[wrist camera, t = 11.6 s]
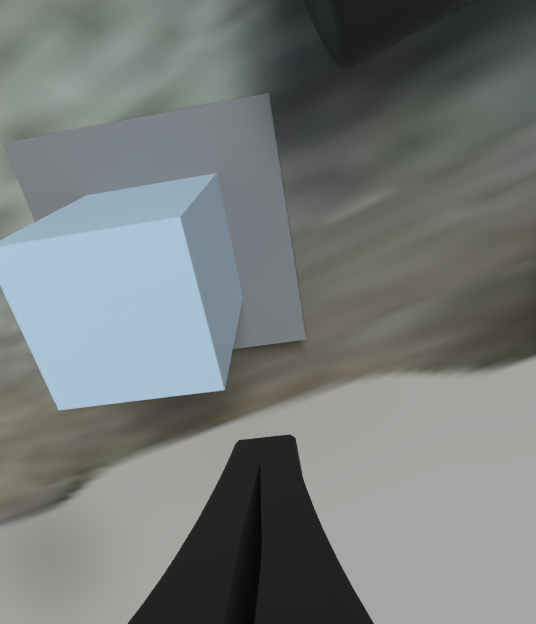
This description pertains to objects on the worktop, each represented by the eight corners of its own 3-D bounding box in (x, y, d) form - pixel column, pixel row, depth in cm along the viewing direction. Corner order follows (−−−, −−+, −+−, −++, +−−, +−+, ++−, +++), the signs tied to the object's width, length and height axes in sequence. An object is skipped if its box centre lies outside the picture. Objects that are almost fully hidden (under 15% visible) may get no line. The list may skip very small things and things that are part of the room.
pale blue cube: (216, 173, 17) (180, 217, 11) (243, 297, 19) (224, 389, 13) (86, 195, 17) (-17, 248, 11) (126, 314, 20) (58, 410, 14)
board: (269, 92, 16) (268, 92, 15) (305, 328, 21) (306, 339, 20) (17, 140, 17) (3, 143, 16) (101, 356, 22) (93, 367, 21)
